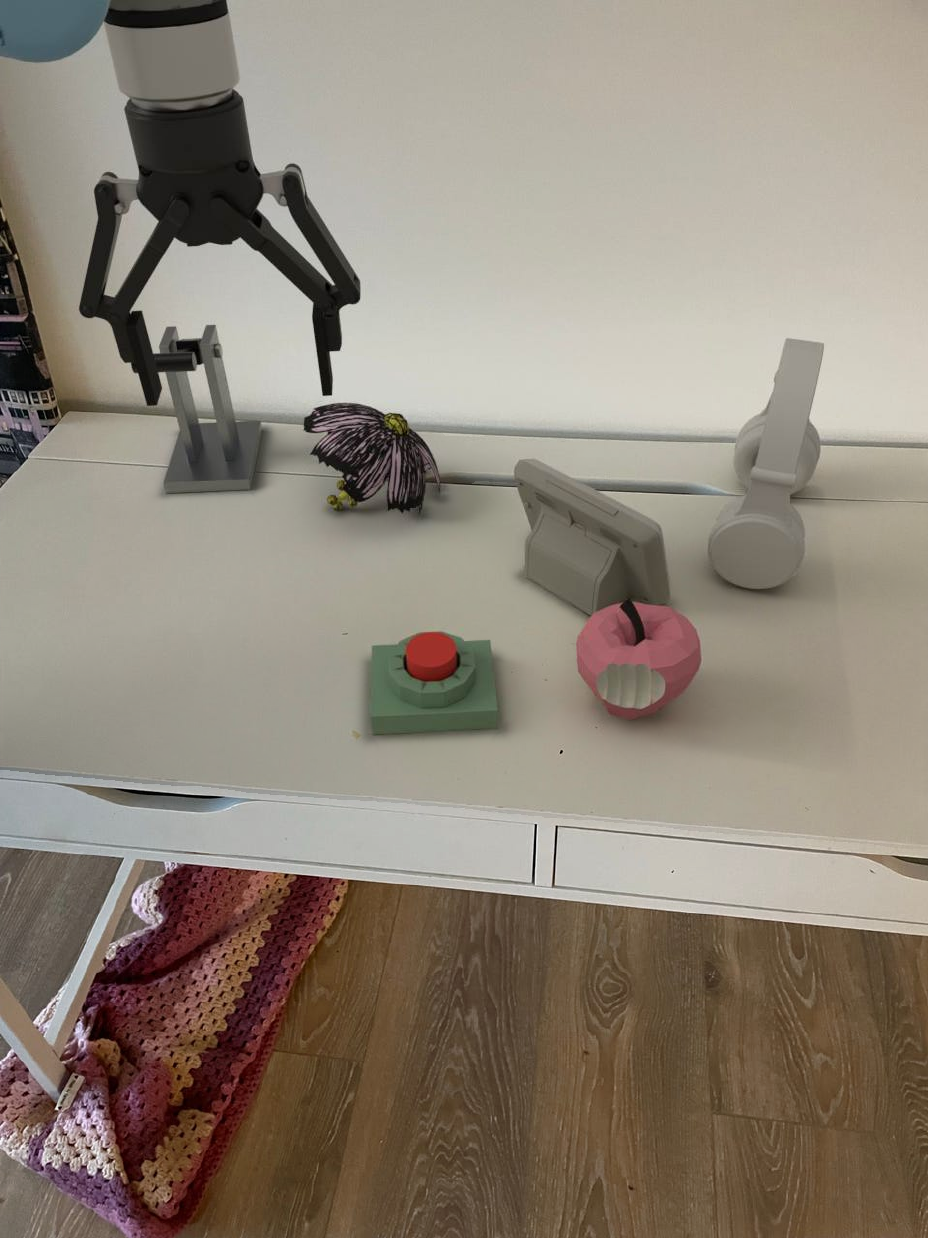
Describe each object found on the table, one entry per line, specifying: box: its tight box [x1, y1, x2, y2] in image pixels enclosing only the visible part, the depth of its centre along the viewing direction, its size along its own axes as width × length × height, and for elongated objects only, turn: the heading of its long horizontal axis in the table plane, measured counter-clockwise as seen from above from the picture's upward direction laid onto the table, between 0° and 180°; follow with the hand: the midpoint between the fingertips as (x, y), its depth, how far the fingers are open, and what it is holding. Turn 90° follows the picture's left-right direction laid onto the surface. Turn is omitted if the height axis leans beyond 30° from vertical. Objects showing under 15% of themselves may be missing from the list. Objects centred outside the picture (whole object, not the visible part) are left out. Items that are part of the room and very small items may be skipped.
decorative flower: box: [303, 402, 442, 517], centre depth 95 cm, size 15×12×15 cm
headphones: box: [707, 337, 825, 590], centre depth 87 cm, size 20×8×19 cm, turn 160°
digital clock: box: [513, 458, 671, 617], centre depth 85 cm, size 16×9×11 cm, turn 33°
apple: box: [575, 597, 702, 721], centre depth 73 cm, size 10×9×10 cm
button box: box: [369, 630, 499, 736], centre depth 76 cm, size 10×8×4 cm
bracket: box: [158, 324, 263, 494], centre depth 99 cm, size 12×9×15 cm
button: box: [406, 631, 457, 682], centre depth 75 cm, size 4×4×2 cm
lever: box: [130, 337, 204, 374], centre depth 90 cm, size 13×6×2 cm, turn 3°
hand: (241, 392), depth 74 cm, fingers open, 13 cm apart
